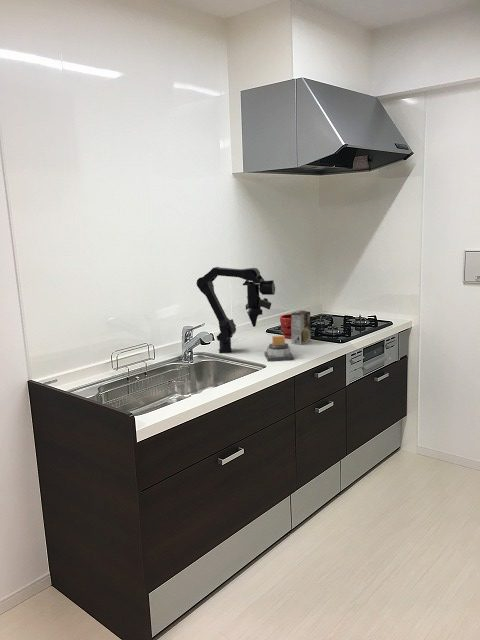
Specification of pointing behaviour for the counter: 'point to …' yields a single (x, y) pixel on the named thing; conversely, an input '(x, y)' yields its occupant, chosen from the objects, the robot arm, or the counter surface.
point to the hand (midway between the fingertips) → (254, 326)
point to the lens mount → (278, 354)
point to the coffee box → (300, 327)
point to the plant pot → (287, 327)
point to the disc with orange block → (278, 342)
